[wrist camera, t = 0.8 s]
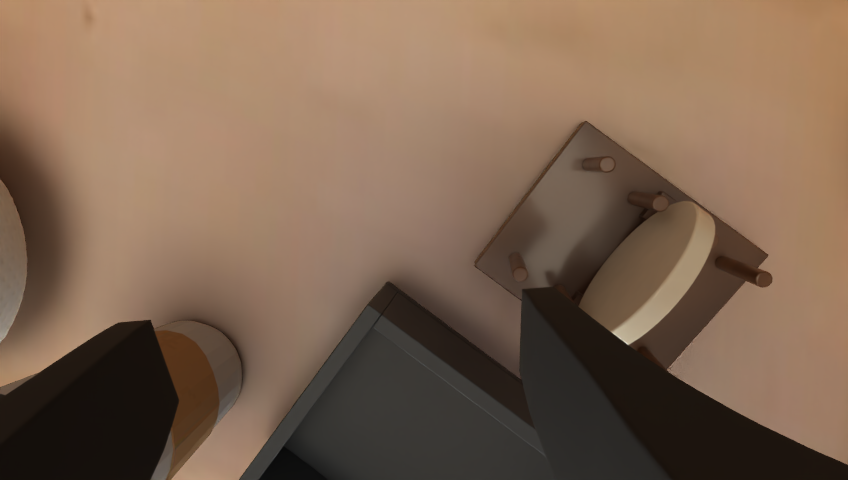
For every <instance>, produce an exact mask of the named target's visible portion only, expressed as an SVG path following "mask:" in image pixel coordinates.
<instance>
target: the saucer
mask: <svg viewBox="0 0 848 480" xmlns="http://www.w3.org/2000/svg"><path fill="white" fill-rule="evenodd" d="M714 237H715V223H714V220H713V218H712V216H711V215H710V214H708V213H707V212H706V211H704V210H703V209H702V208H700V207H699V206H698V205H696V204H695V203H693V202H690V201H681V202H677V203H674V204H671V205H669V206H668V208H667V209H666V210H665V211H662V212H657V213H655V214H654V215H652V216H651V217H650V218H648V219H647V220H646V221H644V222H643V223H642V224H641V225H640V226H638V227H637V228H636V229H635V230H634V231H633V232H632V233H631V234H630V235H629V236H628V237H627V238H626V239H625V240H624V241H623V242H622V243H621V244H620V245H619V246H618V247H617V248H616V249H615V251H614V252H613V253H612V254H611V255H610V256H609V258H608V259H607V260H606V261H605V263H604V264H603V265H602V267H601V268H600V269H599V271H598V272H597V274H596V275H595V277H594V278H593V280H592V281H591V283H590V285H589V286H588V288H587V290H586V292H585V293H584V295H583V297H582V299H581V302H580V304H579V306H578V307H580V308H581V309H582V310H583V311H585V312H586V313H587V314H588V315H590V316H591V317H592V318H593V319H595V320H596V321H597V322H599V323H600V324H601V325H602V326H604V327H605V328H606V329H608V330H609V331H610V332H612V333H613V334H614V335H616V336H617V337H618V338H620V339H621V340H622V341H624V342H625V343H626V344H628V345H629V344H631V343H633V342H634V341H636V340H637V339H639V338H640V337H641V336H643V335H644V334H646V333H647V332H648V331H649V330H651V329H652V328H653V327H654V326H655V325H656V324H658V323H659V322H660V321H661V320H662V319H663V318H664V317H665V316H666V315H667V314H668V313H669V312H670V311H671V310H672V308H673V307H674V306H675V305H676V304H677V303H678V302H679V300H680V299H681V298H682V297H683V296H684V294H685V293H686V292H687V290H688V289H689V288H690V286H691V285H692V284H693V282H694V281H695V279H696V278H697V276H698V274H699V273H700V271H701V269H702V268H703V266H704V264H705V262H706V260H707V258H708V256H709V253H710V251H711V248H712V245H713V242H714Z"/></svg>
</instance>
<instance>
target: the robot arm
mask: <svg viewBox="0 0 848 480" xmlns="http://www.w3.org/2000/svg"><path fill="white" fill-rule="evenodd" d="M519 371H520V375H521V379H522V384H523V388H524V392H525V396H526V400H527V404H528V408H529V411H530V415H531V418H532V421H533V424H534V426H535V429H536V432H537V434H538V437H539V440H540V442H541V445H542V448H543V450H544V453H545V455H546V458H547V461H548V463H549V466H550V468H551V471H552V473H553V476H554V479H555V480H848V465H847V464H844V463H842V462H840V461H838V460H835V459H833V458H831V457H828V456H826V455H824V454H822V453H819V452H817V451H815V450H813V449H810V448H808V447H806V446H804V445H802V444H800V443H798V442H796V441H794V440H791V439H789V438H787V437H785V436H783V435H781V434H779V433H777V432H775V431H773V430H771V429H769V428H766V427H764V426H762V425H760V424H758V423H756V422H754V421H753V420H751V419H749V418H747V417H745V416H743V415H741V414H739V413H737V412H735V411H733V410H732V409H730V408H728V407H726V406H725V405H723V404H721V403H719V402H717V401H716V400H714V399H712V398H710V397H709V396H707V395H705V394H703V393H702V392H700V391H698V390H696V389H695V388H693V387H691V386H690V385H688V384H686V383H685V382H683V381H681V380H680V379H678V378H677V377H675V376H673V375H672V374H670V373H669V372H667V371H666V370H664V369H663V368H661V367H660V366H658V365H657V364H655V363H654V362H652V361H651V360H649V359H648V358H646V357H645V356H643V355H642V354H641V353H639V352H638V351H636V350H635V349H633V348H632V347H631V346H629V345H628V344H626V343H625V342H624V341H622V340H621V339H620V338H618V337H617V336H616V335H614V334H613V333H612V332H610V331H609V330H608V329H606V328H605V327H604V326H602V325H601V324H600V323H599V322H597V321H596V320H595V319H593V318H592V317H591V316H590V315H588V314H587V313H586V312H585V311H583V310H582V309H581V308H580V307H578V306H577V305H576V304H575V303H573V302H572V301H571V300H570V299H568V298H567V297H566V296H565V295H563V294H562V293H561V292H559V291H558V290H557V289H555V288H554V287H542V288H530V289H522V306H521V337H520V369H519ZM178 404H179V398H178V395H177V392H176V390H175V387H174V384H173V381H172V379H171V376H170V373H169V370H168V367H167V365H166V362H165V359H164V356H163V353H162V351H161V348H160V345H159V342H158V339H157V337H156V334H155V331H154V328H153V325H152V323H151V320H144V321H132V322H120V323H117V324H115V325H113V326H111V327H110V328H108V329H106V330H104V331H103V332H101V333H99V334H98V335H96V336H94V337H93V338H91V339H90V340H88V341H87V342H85V343H83V344H82V345H80V346H79V347H77V348H76V349H74V350H73V351H71V352H70V353H68V354H67V355H65V356H64V357H62V358H61V359H59V360H58V361H56V362H55V363H53V364H52V365H50V366H49V367H47V368H46V369H44V370H43V371H41V372H40V373H38V374H37V375H35V376H34V377H32V378H30V379H29V380H27V381H26V382H24V383H23V384H21V385H20V386H18V387H17V388H15V389H14V390H12V391H11V392H9V393H8V394H6V395H5V396H3V397H2V398H0V480H151V478H152V476H153V474H154V472H155V469H156V467H157V465H158V463H159V461H160V458H161V456H162V454H163V452H164V449H165V446H166V443H167V440H168V437H169V434H170V431H171V428H172V424H173V421H174V418H175V414H176V411H177V407H178Z"/></svg>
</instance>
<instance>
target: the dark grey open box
mask: <svg viewBox="0 0 848 480" xmlns="http://www.w3.org/2000/svg"><path fill="white" fill-rule="evenodd" d="M239 480H555V479H554V476H553V473H552V471H551V468H550V466H549V463H548V461H547V458H546V455H545V453H544V450H543V448H542V445H541V442H540V440H539V437H538V434H537V432H536V429H535V426H534V424H533V421H532V418H531V415H530V411H529V408H528V404H527V400H526V396H525V392H524V388H523V384H522V380H520V379H519V378H518V377H516V376H515V375H514V374H512V373H511V372H510V371H508V370H507V369H506V368H504V367H503V366H501V365H500V364H499V363H497V362H496V361H495V360H493V359H492V358H491V357H489V356H488V355H487V354H485V353H484V352H483V351H481V350H480V349H479V348H477V347H476V346H475V345H473V344H472V343H471V342H469V341H468V340H467V339H465V338H464V337H463V336H461V335H460V334H458V333H457V332H456V331H454V330H453V329H452V328H450V327H449V326H448V325H446V324H445V323H444V322H442V321H441V320H440V319H438V318H437V317H436V316H434V315H433V314H432V313H430V312H429V311H428V310H426V309H425V308H424V307H422V306H421V305H420V304H418V303H417V302H416V301H414V300H413V299H411V298H410V297H409V296H407V295H406V294H405V293H403V292H402V291H401V290H399V289H398V288H397V287H395V286H394V285H393V284H391V283H390V282H387V283H386V284H385V285H384V286H383V287H382V289H381V290H380V291H379V292H378V293H377V294H376V295H375V297H374V298H373V299H372V300H371V301H370V302H369V304H368V305H367V306H366V307H365V309H364V310H363V311H362V313H361V314H360V316H359V317H358V318H357V320H356V321H355V322H354V324H353V325H352V326H351V328H350V329H349V331H348V332H347V333H346V335H345V336H344V337H343V339H342V340H341V341H340V343H339V344H338V346H337V347H336V348H335V350H334V351H333V352H332V354H331V355H330V356H329V358H328V359H327V360H326V362H325V363H324V365H323V366H322V367H321V369H320V370H319V371H318V373H317V374H316V375H315V377H314V378H313V380H312V381H311V382H310V384H309V385H308V386H307V388H306V389H305V390H304V392H303V393H302V395H301V396H300V397H299V399H298V400H297V401H296V403H295V404H294V405H293V407H292V408H291V410H290V411H289V412H288V414H287V415H286V416H285V418H284V419H283V420H282V422H281V423H280V424H279V426H278V427H277V429H276V430H275V431H274V433H273V434H272V435H271V437H270V438H269V439H268V441H267V442H266V444H265V445H264V446H263V448H262V449H261V450H260V452H259V453H258V454H257V456H256V457H255V459H254V460H253V461H252V463H251V464H250V465H249V467H248V468H247V469H246V471H245V472H244V474H243V475H242V476H241V478H240V479H239Z"/></svg>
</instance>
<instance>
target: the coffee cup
mask: <svg viewBox="0 0 848 480" xmlns="http://www.w3.org/2000/svg"><path fill="white" fill-rule="evenodd" d="M154 331H155V334H156V337H157V339H158V342H159V345H160V348H161V351H162V353H163V356H164V359H165V362H166V365H167V367H168V370H169V373H170V376H171V379H172V381H173V384H174V387H175V390H176V392H177V395H178V398H179V404H178V407H177V411H176V414H175V418H174V421H173V424H172V428H171V431H170V434H169V437H168V440H167V443H166V446H165V449H164V452H163V454H162V456H161V458H160V461H159V463H158V465H157V467H156V469H155V472H154V474H153V476H152V478H151V480H171V479H172V477H173V476H174V475H175V474H176V473H177V472H178V471H179V469H180V468H181V467H182V466H183V465H184V464H185V462H186V461H187V460H188V459H189V458H190V457H191V456H192V454H193V453H194V452H195V451H196V450H197V449H198V447H199V446H200V445H201V444H202V443H203V442H204V440H205V439H206V438H207V437H208V436H209V435H210V433H211V431H212V429H213V428H214V427H215V425H216V424H217V423H218V422H219V421H220V420H221V419H222V417H223V416H224V415H225V414H226V413H227V412H228V411H229V410H230V408H231V407H232V406H233V405H234V403H235V401H236V399H237V397H238V395H239V393H240V388H241V382H242V368H241V361H240V359H239V356H238V353H237V350H236V349H235V347H234V346H233V344H232V343H231V341H230V340H229V339H228V338H227V337H226V336H225V335H224V334H222V333H221V332H220V331H218V330H217V329H215V328H213V327H211V326H209V325H205V324H202V323H198V322H194V321H176V322H173V323H169V324H166V325H163V326H161V327H158V328H155V329H154ZM39 373H40V372H39ZM37 374H38V373H37ZM37 374H34V375H31V376H29V377H26V378H23V379H21V380H18V381H15V382H13V383H10V384H8V385H5V386H2V387H0V398H2V397H3V396H5V395H6V394H8V393H9V392H11V391H12V390H14V389H15V388H17V387H18V386H20V385H21V384H23V383H24V382H26V381H27V380H29V379H30V378H32V377H34V376H35V375H37Z"/></svg>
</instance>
